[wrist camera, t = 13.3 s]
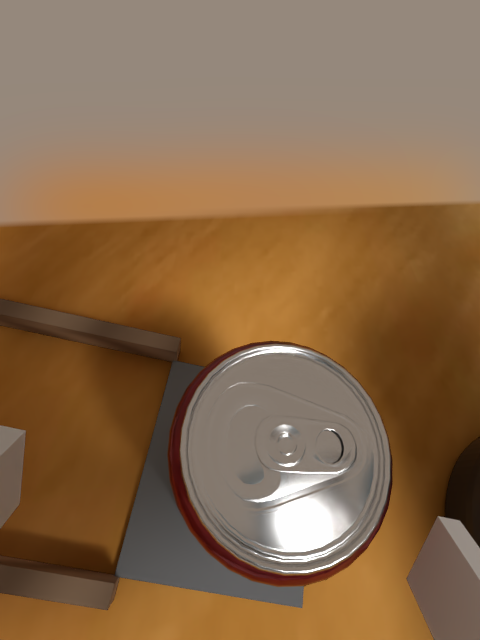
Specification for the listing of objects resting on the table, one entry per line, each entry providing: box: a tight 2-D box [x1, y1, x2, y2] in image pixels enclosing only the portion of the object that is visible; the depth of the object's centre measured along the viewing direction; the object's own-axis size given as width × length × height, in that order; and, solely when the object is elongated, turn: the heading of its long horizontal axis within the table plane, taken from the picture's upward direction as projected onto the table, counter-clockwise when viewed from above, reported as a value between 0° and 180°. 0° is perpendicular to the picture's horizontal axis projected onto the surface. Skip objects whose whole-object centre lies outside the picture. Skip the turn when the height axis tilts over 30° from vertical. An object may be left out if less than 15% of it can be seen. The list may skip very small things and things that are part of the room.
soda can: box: [167, 341, 392, 587], centre depth 16 cm, size 7×7×12 cm
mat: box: [114, 360, 304, 608], centre depth 21 cm, size 10×12×1 cm
